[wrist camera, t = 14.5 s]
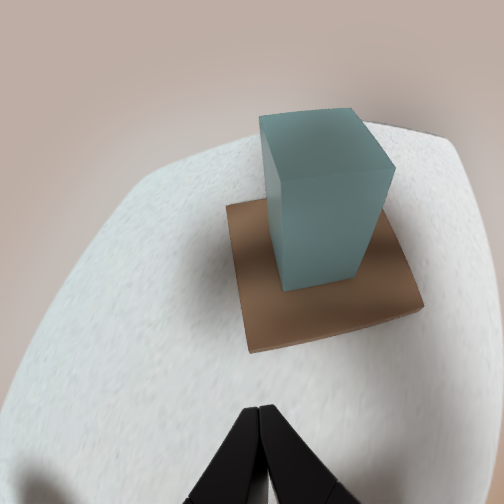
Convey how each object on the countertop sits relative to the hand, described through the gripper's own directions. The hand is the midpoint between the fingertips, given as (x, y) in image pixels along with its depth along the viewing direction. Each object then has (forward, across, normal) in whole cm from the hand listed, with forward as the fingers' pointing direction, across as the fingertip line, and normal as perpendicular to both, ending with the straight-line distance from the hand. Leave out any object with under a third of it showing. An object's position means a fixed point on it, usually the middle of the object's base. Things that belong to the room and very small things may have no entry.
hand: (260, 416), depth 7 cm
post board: (+17, -5, +1) cm, 18 cm away
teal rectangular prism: (+16, -5, 0) cm, 17 cm away
